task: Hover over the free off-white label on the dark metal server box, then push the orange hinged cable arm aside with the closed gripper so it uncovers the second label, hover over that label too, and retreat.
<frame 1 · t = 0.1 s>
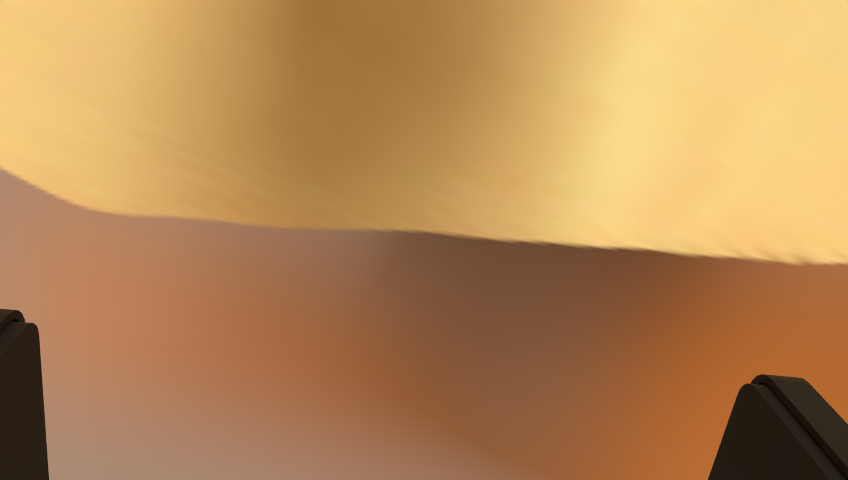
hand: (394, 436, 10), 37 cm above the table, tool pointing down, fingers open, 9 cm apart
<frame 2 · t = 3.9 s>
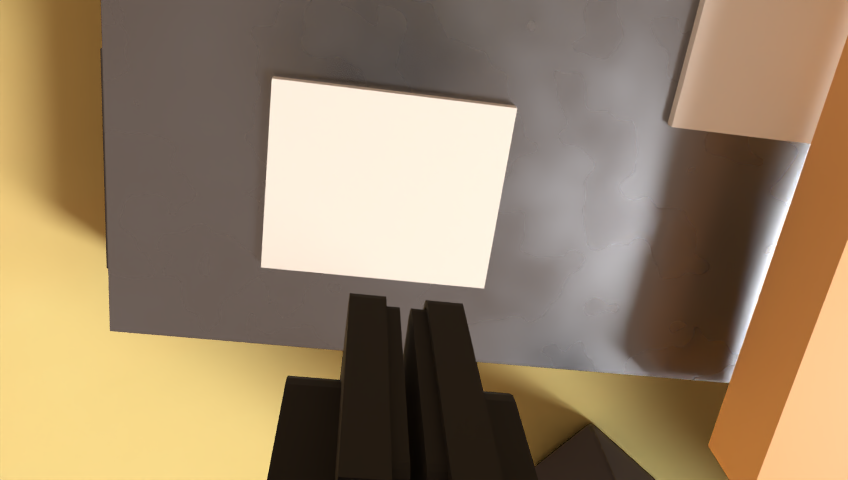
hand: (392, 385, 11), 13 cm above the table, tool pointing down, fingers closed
label b: (383, 144, 23), resting on server box
label a: (737, 20, 22), resting on server box
server box: (534, 28, 22), on the table
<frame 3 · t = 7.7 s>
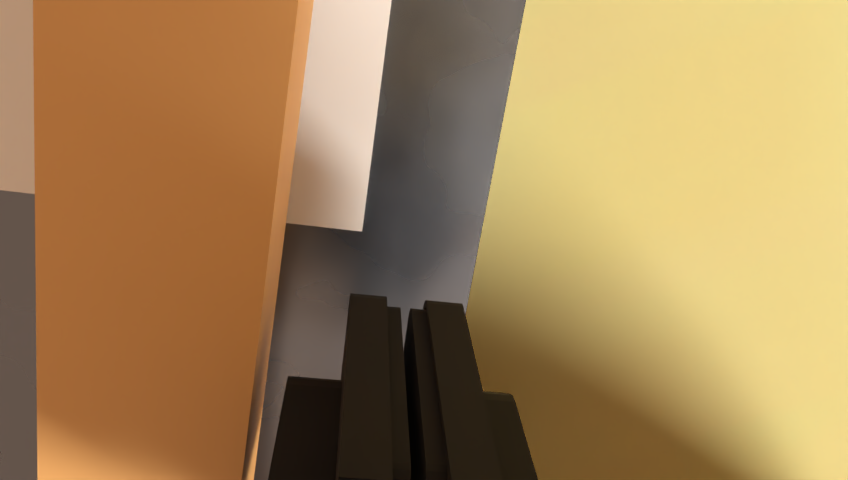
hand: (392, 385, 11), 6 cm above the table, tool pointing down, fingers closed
label a: (229, 15, 15), resting on server box
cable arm: (177, 193, 9), point 7 cm above the table, hinge at 87.9°, touching gripper
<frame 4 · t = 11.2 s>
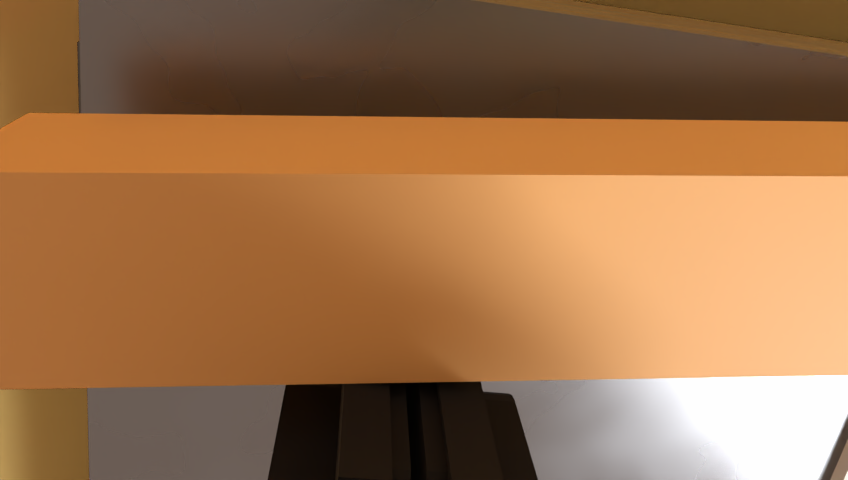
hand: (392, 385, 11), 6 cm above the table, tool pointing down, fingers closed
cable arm: (842, 245, 9), point 7 cm above the table, hinge at 6.8°, touching gripper
server box: (609, 397, 19), on the table
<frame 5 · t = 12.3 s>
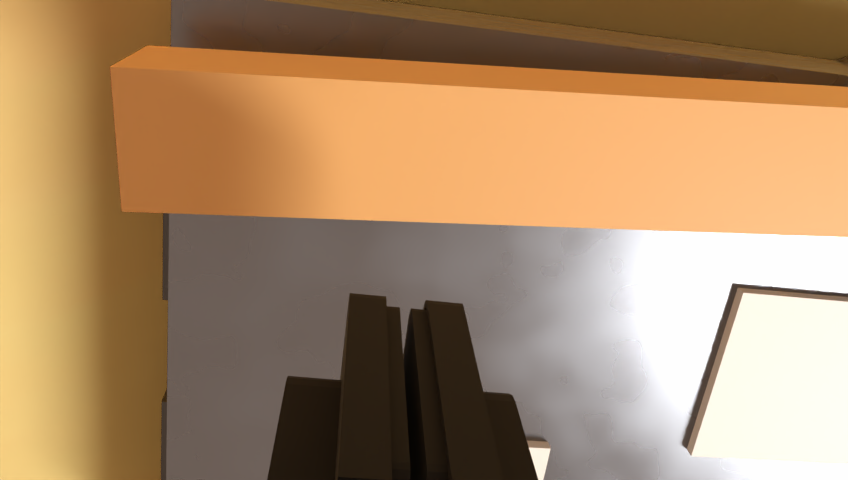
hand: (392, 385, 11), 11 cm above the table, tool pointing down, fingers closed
label b: (414, 423, 25), resting on server box
label a: (743, 311, 24), resting on server box
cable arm: (676, 152, 14), point 7 cm above the table, hinge at 3.5°
server box: (556, 324, 24), on the table
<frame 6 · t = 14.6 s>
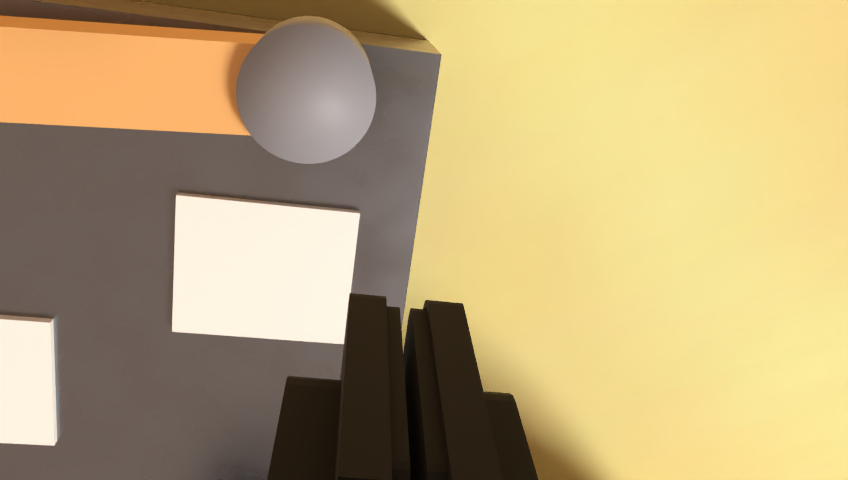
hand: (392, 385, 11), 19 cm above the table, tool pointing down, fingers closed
label b: (10, 323, 30), resting on server box
label a: (274, 229, 30), resting on server box
server box: (115, 239, 29), on the table
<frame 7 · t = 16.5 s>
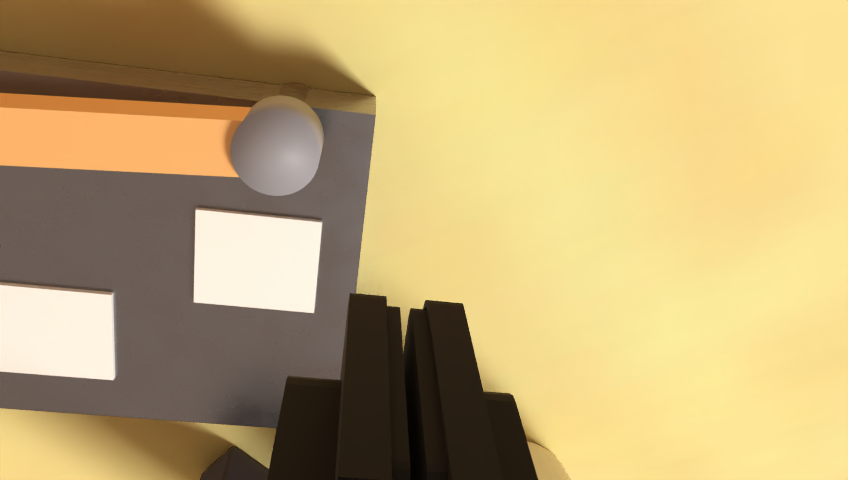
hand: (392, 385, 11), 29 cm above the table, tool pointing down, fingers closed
label b: (81, 294, 42), resting on server box
label a: (268, 230, 41), resting on server box
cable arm: (81, 134, 31), point 7 cm above the table, hinge at 3.5°
server box: (155, 235, 41), on the table
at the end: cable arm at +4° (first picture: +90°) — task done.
